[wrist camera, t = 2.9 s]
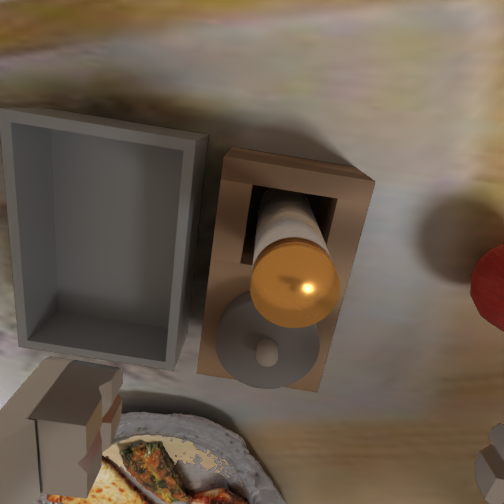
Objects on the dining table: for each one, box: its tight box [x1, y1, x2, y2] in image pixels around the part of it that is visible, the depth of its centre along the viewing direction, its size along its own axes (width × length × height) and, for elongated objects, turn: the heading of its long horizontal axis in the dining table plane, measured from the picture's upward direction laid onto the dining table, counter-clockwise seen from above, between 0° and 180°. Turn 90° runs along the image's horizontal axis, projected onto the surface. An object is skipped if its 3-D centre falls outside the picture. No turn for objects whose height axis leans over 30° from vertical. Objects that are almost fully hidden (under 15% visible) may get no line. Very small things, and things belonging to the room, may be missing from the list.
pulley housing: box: [197, 147, 375, 392], centre depth 23 cm, size 14×8×8 cm, turn 171°
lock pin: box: [250, 188, 340, 328], centre depth 20 cm, size 3×3×12 cm
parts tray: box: [0, 108, 209, 371], centre depth 24 cm, size 15×10×4 cm
